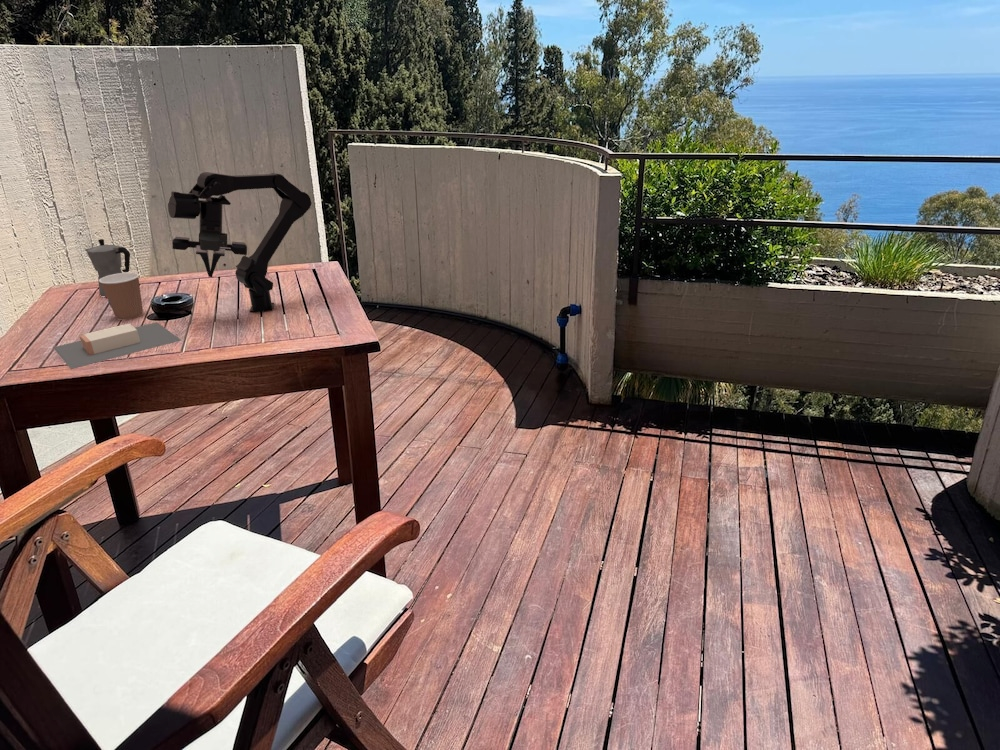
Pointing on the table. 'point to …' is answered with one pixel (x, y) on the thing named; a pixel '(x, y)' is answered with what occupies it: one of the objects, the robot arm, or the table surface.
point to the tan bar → (109, 339)
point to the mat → (148, 338)
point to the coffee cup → (123, 294)
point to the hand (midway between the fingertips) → (210, 276)
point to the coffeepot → (108, 260)
